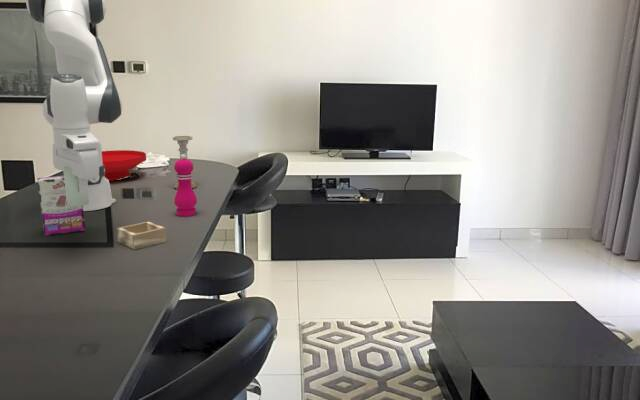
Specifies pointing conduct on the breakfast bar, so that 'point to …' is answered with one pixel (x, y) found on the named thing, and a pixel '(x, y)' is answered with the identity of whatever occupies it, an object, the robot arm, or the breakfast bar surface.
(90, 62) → the robot arm
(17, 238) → the breakfast bar surface
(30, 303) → the breakfast bar surface
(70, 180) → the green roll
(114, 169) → the bowl
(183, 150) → the candle holder
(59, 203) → the candy bar box
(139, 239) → the square wooden tray
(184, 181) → the pepper mill
